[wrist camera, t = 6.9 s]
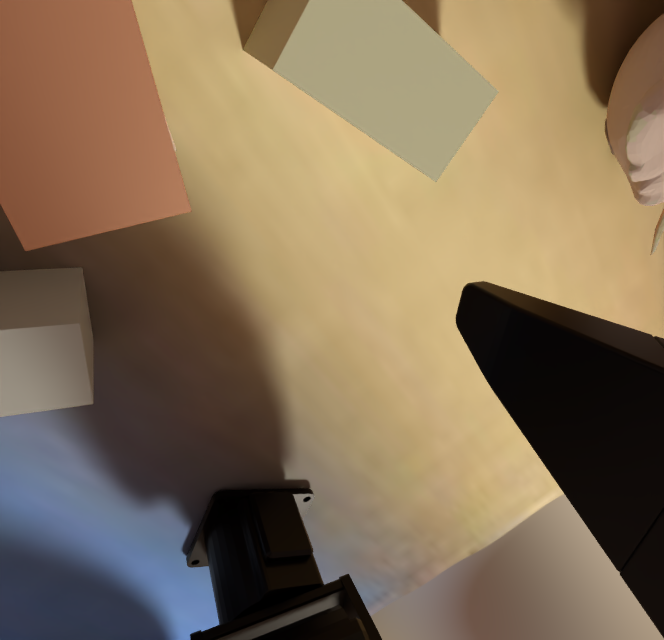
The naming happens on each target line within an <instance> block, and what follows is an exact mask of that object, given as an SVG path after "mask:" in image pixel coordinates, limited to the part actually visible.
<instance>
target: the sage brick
mask: <svg viewBox="0 0 664 640" xmlns="http://www.w3.org/2000/svg"><path fill="white" fill-rule="evenodd" d="M243 50H244V51H245V52H247V53H248V54H250V55H251V56H253V57H254V58H255V59H257V60H258V61H260V62H261V63H263V64H264V65H266V66H267V67H269V68H270V69H272V70H273V71H274V72H276V73H277V74H279V75H280V76H282V77H283V78H285V79H286V80H288V81H289V82H290V83H292V84H293V85H295V86H296V87H298V88H299V89H301V90H302V91H304V92H305V93H306V94H308V95H309V96H311V97H312V98H314V99H315V100H317V101H318V102H320V103H321V104H323V105H324V106H325V107H327V108H328V109H330V110H331V111H333V112H334V113H336V114H337V115H339V116H340V117H341V118H343V119H344V120H346V121H347V122H349V123H350V124H352V125H353V126H355V127H356V128H357V129H359V130H360V131H362V132H363V133H365V134H366V135H368V136H369V137H371V138H372V139H374V140H375V141H376V142H378V143H379V144H381V145H382V146H384V147H385V148H387V149H388V150H390V151H391V152H392V153H394V154H395V155H397V156H398V157H400V158H401V159H403V160H404V161H406V162H407V163H409V164H410V165H412V166H413V167H415V168H416V169H417V170H419V171H420V172H422V173H423V174H425V175H426V176H428V177H429V178H431V179H432V180H434V181H435V182H437V180H438V179H439V177H440V176H441V174H442V173H443V172H444V170H445V169H446V167H447V166H448V164H449V163H450V161H451V160H452V159H453V157H454V156H455V154H456V153H457V151H458V150H459V148H460V147H461V146H462V144H463V143H464V141H465V140H466V138H467V137H468V135H469V134H470V133H471V131H472V130H473V128H474V127H475V125H476V124H477V122H478V121H479V120H480V118H481V117H482V115H483V114H484V112H485V111H486V109H487V108H488V107H489V105H490V104H491V102H492V101H493V99H494V98H495V96H496V95H497V93H498V92H499V91H498V90H497V89H496V88H494V87H493V86H492V85H491V84H490V83H489V82H488V81H487V80H486V79H485V78H484V77H483V76H482V75H481V74H480V73H479V72H478V71H476V70H475V69H474V68H473V67H472V66H471V65H470V64H469V63H468V62H467V61H466V60H465V59H464V58H463V57H462V56H461V55H460V54H458V53H457V52H456V51H455V50H454V49H453V48H452V47H451V46H450V45H449V44H448V43H447V42H446V41H445V40H444V39H443V38H442V37H440V36H439V35H438V34H437V33H436V32H435V31H434V30H433V29H432V28H431V27H430V26H429V25H428V24H427V23H426V22H425V21H424V20H422V19H421V18H420V17H419V16H418V15H417V14H416V13H415V12H414V11H413V10H412V9H411V8H410V7H409V6H408V5H407V4H406V3H404V2H403V1H402V0H267V2H266V4H265V6H264V8H263V10H262V12H261V14H260V16H259V18H258V20H257V22H256V24H255V26H254V28H253V30H252V32H251V34H250V36H249V38H248V40H247V42H246V44H245V46H244V48H243Z"/></svg>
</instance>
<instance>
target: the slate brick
mask: <svg viewBox="0 0 664 640" xmlns="http://www.w3.org/2000/svg"><path fill="white" fill-rule="evenodd" d="M93 380H94V340H93V333H92V327H91V320H90V314H89V307H88V301H87V294H86V288H85V281H84V275H83V268H82V267H76V268H55V269H35V270H14V271H0V417H3V416H10V415H18V414H25V413H32V412H39V411H47V410H54V409H61V408H68V407H75V406H83V405H90V404H93Z"/></svg>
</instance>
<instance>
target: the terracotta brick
mask: <svg viewBox="0 0 664 640" xmlns="http://www.w3.org/2000/svg"><path fill="white" fill-rule="evenodd" d="M0 204H1V206H2V208H3V210H4V212H5V214H6V216H7V218H8V219H9V221H10V223H11V225H12V227H13V229H14V231H15V233H16V234H17V236H18V238H19V240H20V242H21V244H22V246H23V247H24V249H25V251H29V250H33V249H37V248H41V247H46V246H50V245H54V244H58V243H62V242H66V241H71V240H75V239H79V238H83V237H87V236H92V235H96V234H100V233H104V232H108V231H113V230H117V229H121V228H125V227H129V226H133V225H138V224H142V223H146V222H150V221H154V220H159V219H163V218H167V217H171V216H175V215H180V214H184V213H188V212H192V211H191V207H190V204H189V200H188V197H187V193H186V190H185V186H184V183H183V179H182V176H181V172H180V169H179V165H178V162H177V158H176V155H175V151H174V148H173V144H172V141H171V137H170V134H169V130H168V127H167V123H166V120H165V116H164V113H163V109H162V106H161V102H160V99H159V95H158V92H157V88H156V85H155V81H154V78H153V74H152V71H151V67H150V64H149V60H148V57H147V53H146V50H145V46H144V43H143V39H142V36H141V32H140V29H139V25H138V22H137V18H136V15H135V11H134V8H133V4H132V1H131V0H0Z"/></svg>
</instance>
